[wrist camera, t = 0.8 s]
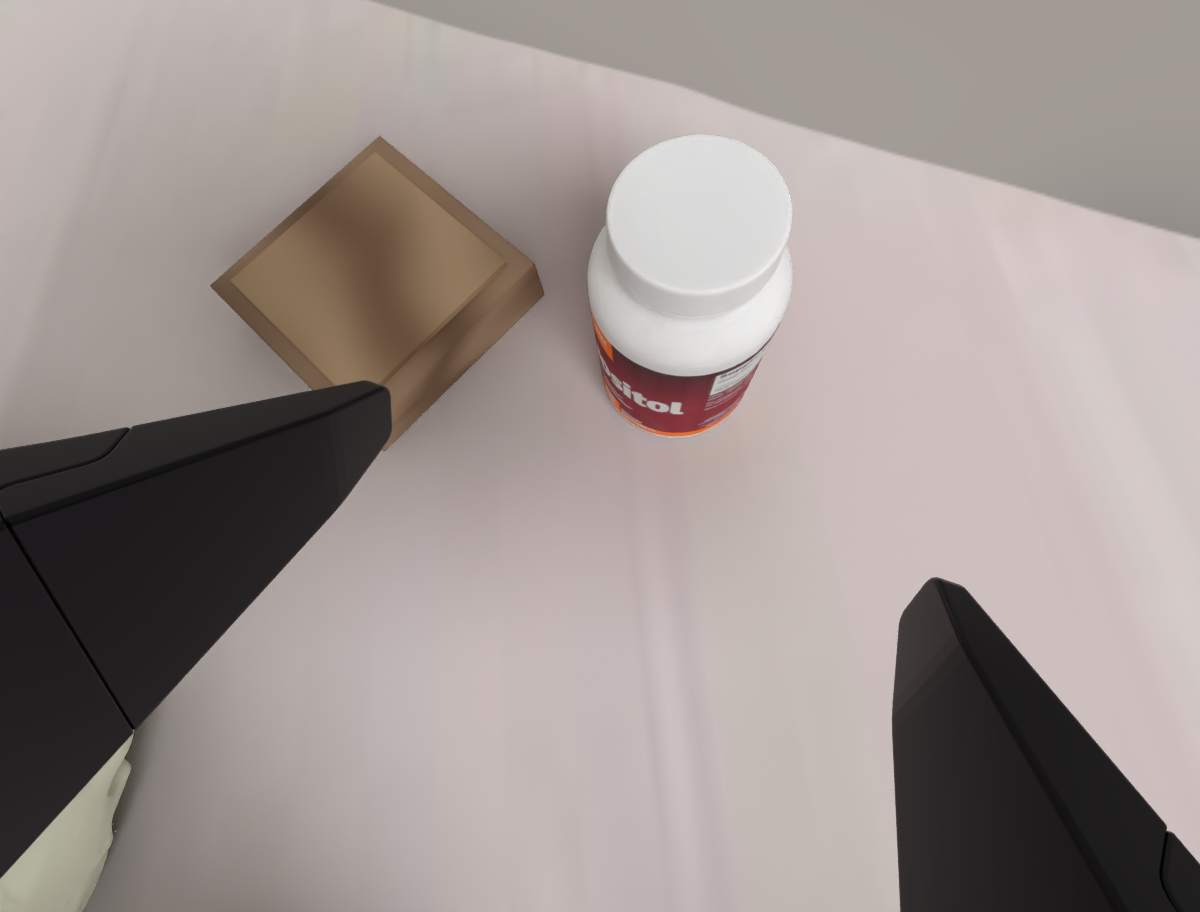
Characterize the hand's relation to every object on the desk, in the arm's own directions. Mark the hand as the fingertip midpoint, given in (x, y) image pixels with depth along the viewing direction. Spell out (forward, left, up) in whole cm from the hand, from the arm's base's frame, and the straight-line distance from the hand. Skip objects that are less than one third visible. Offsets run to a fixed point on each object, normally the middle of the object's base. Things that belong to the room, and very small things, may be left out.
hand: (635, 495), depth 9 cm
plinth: (+1, +16, -14) cm, 22 cm away
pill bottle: (+7, +4, -15) cm, 17 cm away
